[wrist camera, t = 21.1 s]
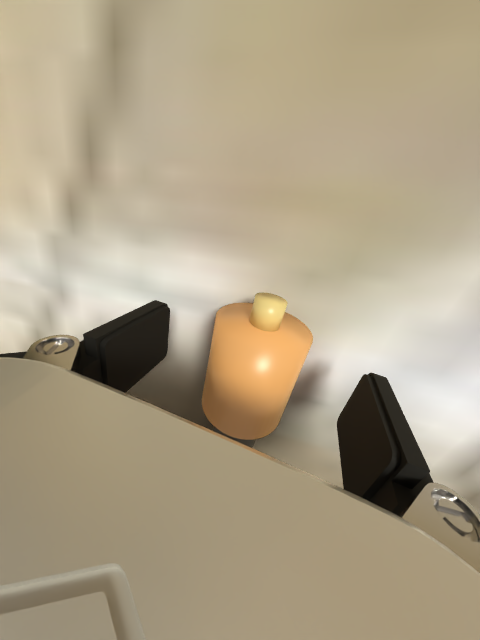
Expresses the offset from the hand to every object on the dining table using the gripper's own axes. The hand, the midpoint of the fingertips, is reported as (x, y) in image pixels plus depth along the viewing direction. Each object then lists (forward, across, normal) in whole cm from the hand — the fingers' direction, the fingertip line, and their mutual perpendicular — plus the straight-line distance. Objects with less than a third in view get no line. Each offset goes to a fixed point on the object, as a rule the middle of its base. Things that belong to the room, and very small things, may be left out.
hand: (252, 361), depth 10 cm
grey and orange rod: (+3, 0, +6) cm, 7 cm away
